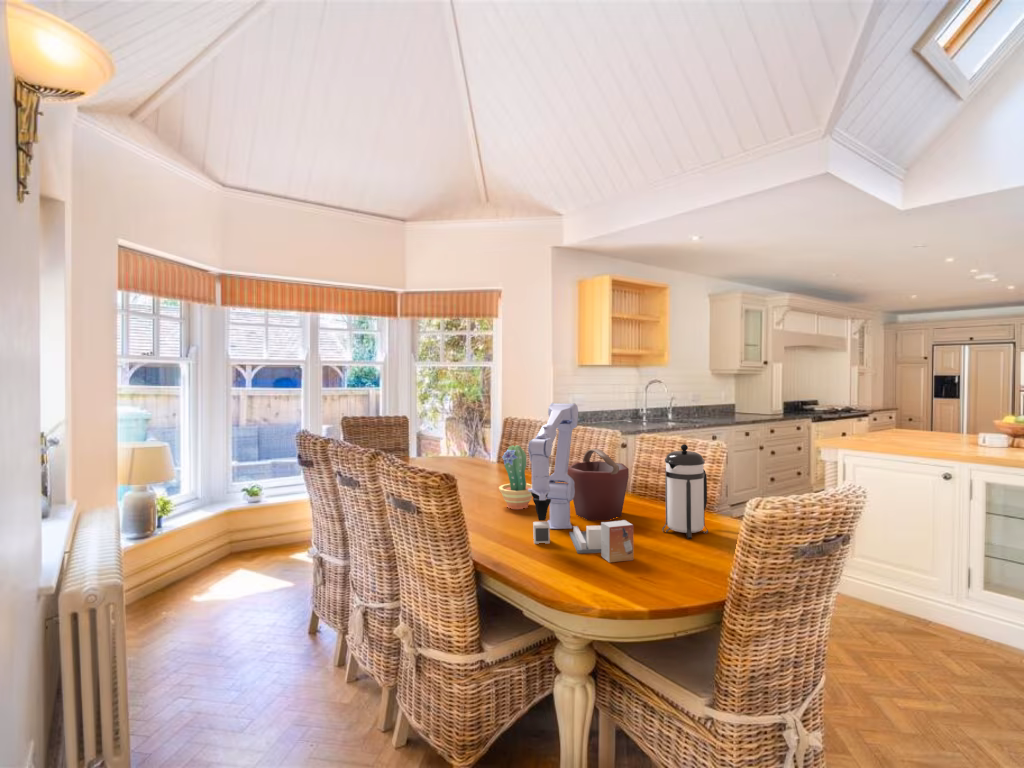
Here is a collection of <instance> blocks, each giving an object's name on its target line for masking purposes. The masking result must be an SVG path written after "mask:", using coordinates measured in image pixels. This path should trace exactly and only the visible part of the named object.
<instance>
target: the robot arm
mask: <svg viewBox="0 0 1024 768" xmlns="http://www.w3.org/2000/svg"><path fill="white" fill-rule="evenodd" d="M547 409H548V411H547V413H548V414H547V415H548V419H547V421H546V424H543V425H542V426H541V428H540V429H539V431H538V433H536V435H535V438H531V440H529V442H528V446H527V452H528V456H529V462H530V463H531V484H532V488H531V489H528V491H529V492H531V494H532V501H533V503H534V506H535V511H536V514H537V519H538V522H546V520H547V514H548V510H549V519H548V520H547V521H548V522H549V525H550V530H562V529H563V530H567V529H569V530H570V529H573V525H572V522H571V502H572V501H573V498H574V494H575V488H574V480H573V479H572V478H571V477H570V476H569V475H568V467H569V466H570V464H569V463H570V452H571V443H572V437H573V435H572V434H573V430H574V429H575V428H577V425H578V421H579V408H578V405H577V404H576V403H575V402H574V403H559V402H558V403H554V402H551V403H550V404H549V405H548V408H547ZM557 430H558V432H557ZM557 433H558V435H557ZM556 437H557V445H556V454H555V461H554V462H555V463H554V472H553V473H551V475H550V456H551V455H552V449H553V446H554V444H553V443H554V441H555V439H556Z"/></svg>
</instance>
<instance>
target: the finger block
mask: <svg viewBox="0 0 1024 768" xmlns="http://www.w3.org/2000/svg"><path fill="white" fill-rule="evenodd" d="M532 526H533V527H532V532H533V534H532V535H533V537H532V538H533V539H534V540H533V544H534V545H537V544H539V543H545V544H551V543H550V542H551V537H550V530H551V529H550V525H549V522H548V520H547V521H546V520H545V521H533V522H532ZM539 545H540V544H539Z"/></svg>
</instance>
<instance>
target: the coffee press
mask: <svg viewBox="0 0 1024 768" xmlns="http://www.w3.org/2000/svg"><path fill="white" fill-rule="evenodd" d="M680 449H681V450H673V451H671V452H669V453H667V455H666V457H665V458H664V462H665V472H664V473H665V477H664V478H665V480H664V481H665V484H664V485H665V487H664V488H665V524H664V526H663V527H662V529H661V531H662V532H663V533H664V531H666V533H668V531H670V530H672V531H675V532H678V533H685V534H686V539H687V540H692V539H693V534H692V533H698V532H699V533H700V531H702V533H704V534H709V530H708V528H707V527H706V523H705V521H706V520H705V517H706V516H705V510H706V508H707V503H708V478H707V473H706V470H705V469H704V466H705V459H704V458H703V457H704V456H703V455H701V454H700V453H698V452H695V451H691V450H689V451H688V449H689V447H688V445H687V444H685V443H684V444H683V443H682V445H681V446H680ZM666 527H668V528H667V529H666V530H665V528H666ZM704 528H705V529H706V531H704V530H703V529H704ZM705 532H706V533H705Z"/></svg>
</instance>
